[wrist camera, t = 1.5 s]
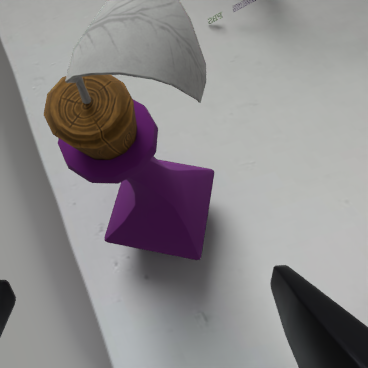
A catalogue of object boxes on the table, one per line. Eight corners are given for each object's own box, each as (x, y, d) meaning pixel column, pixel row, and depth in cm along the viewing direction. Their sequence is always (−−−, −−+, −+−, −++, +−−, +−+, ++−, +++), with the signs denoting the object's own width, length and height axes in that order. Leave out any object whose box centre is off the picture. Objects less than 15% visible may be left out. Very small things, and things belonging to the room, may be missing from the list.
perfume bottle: (114, 245, 20) (-206, 138, 3) (136, 169, 23) (12, -105, 6) (197, 261, 20) (289, 232, 3) (210, 183, 23) (298, -69, 6)
